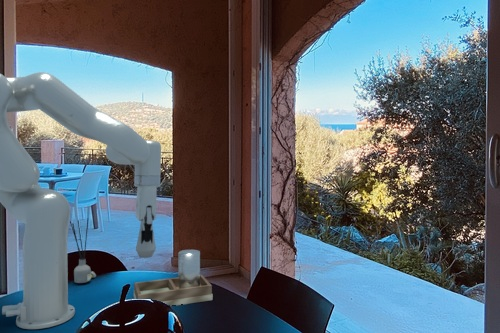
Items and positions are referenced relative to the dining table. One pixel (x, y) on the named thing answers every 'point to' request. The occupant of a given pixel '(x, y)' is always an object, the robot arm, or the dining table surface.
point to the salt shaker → (145, 245)
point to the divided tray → (173, 291)
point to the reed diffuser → (82, 263)
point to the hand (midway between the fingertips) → (145, 242)
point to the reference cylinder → (188, 268)
